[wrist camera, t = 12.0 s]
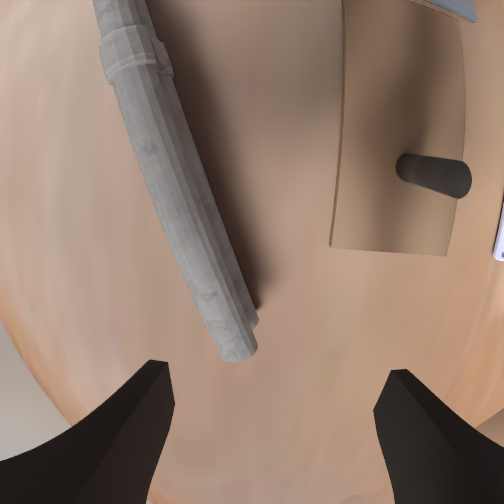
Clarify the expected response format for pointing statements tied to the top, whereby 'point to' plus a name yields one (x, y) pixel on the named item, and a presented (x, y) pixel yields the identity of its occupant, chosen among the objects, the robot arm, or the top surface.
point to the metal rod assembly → (175, 173)
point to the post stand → (399, 129)
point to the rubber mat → (458, 7)
